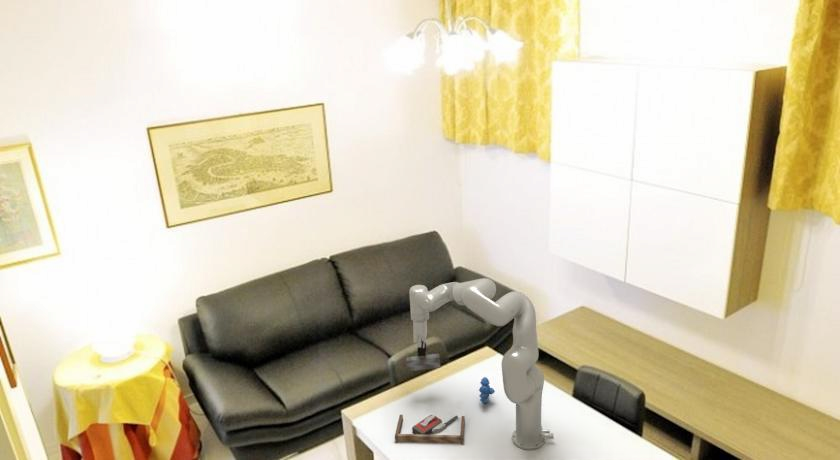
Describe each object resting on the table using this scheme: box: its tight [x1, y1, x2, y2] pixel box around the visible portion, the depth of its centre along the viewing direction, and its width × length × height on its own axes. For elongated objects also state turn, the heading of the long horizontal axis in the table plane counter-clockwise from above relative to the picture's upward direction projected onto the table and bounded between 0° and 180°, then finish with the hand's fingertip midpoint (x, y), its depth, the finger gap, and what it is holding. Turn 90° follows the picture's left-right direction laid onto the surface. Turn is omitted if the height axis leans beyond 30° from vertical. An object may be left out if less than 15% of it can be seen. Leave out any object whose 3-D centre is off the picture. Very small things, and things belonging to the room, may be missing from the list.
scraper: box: [405, 342, 441, 372], centre depth 258 cm, size 14×3×13 cm, turn 95°
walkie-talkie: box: [411, 414, 459, 435], centre depth 245 cm, size 9×4×20 cm
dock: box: [394, 414, 466, 445], centre depth 242 cm, size 26×14×3 cm, turn 83°
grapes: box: [478, 376, 496, 405], centre depth 257 cm, size 12×7×12 cm, turn 167°
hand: (422, 353), depth 258 cm, fingers closed on scraper, 2 cm apart
